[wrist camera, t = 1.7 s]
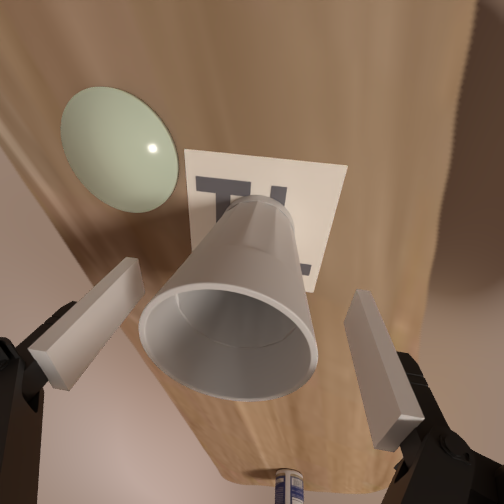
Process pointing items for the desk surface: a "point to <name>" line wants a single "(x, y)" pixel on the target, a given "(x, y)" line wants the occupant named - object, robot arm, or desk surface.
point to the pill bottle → (289, 487)
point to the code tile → (271, 185)
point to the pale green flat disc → (119, 149)
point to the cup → (236, 310)
